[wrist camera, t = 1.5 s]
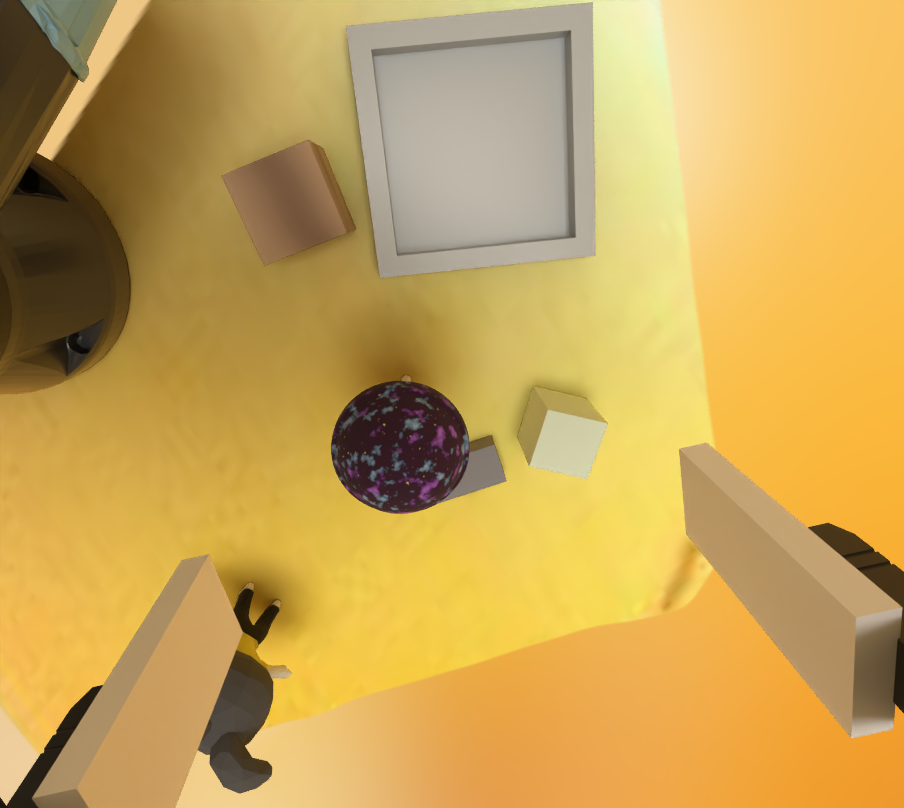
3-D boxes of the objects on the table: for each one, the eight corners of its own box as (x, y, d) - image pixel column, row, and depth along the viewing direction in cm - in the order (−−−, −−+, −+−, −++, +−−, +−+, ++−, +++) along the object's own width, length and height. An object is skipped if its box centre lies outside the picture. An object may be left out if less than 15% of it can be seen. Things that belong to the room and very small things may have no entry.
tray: (381, 274, 37) (379, 278, 35) (350, 36, 33) (345, 26, 31) (586, 252, 38) (595, 255, 36) (582, 14, 33) (592, 2, 31)
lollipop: (406, 444, 42) (399, 569, 27) (335, 379, 40) (288, 477, 26) (476, 380, 40) (506, 477, 26) (406, 310, 38) (398, 373, 24)
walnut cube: (284, 257, 37) (264, 265, 32) (247, 179, 35) (221, 175, 31) (356, 228, 37) (346, 232, 32) (323, 148, 35) (307, 139, 30)
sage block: (517, 436, 42) (529, 466, 37) (533, 385, 41) (548, 409, 36) (568, 448, 42) (587, 479, 38) (586, 398, 41) (607, 423, 36)
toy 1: (199, 585, 45) (96, 763, 30) (240, 539, 43) (153, 701, 29) (288, 641, 47) (232, 832, 33) (330, 599, 46) (290, 777, 31)
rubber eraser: (426, 493, 43) (427, 506, 41) (413, 459, 42) (412, 471, 40) (502, 468, 43) (506, 481, 41) (490, 433, 42) (494, 444, 40)
